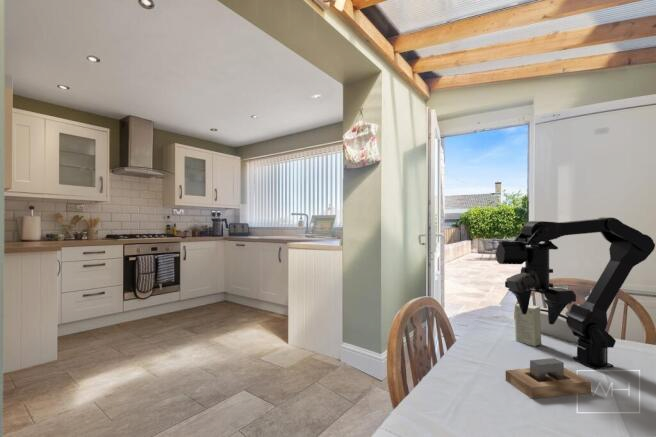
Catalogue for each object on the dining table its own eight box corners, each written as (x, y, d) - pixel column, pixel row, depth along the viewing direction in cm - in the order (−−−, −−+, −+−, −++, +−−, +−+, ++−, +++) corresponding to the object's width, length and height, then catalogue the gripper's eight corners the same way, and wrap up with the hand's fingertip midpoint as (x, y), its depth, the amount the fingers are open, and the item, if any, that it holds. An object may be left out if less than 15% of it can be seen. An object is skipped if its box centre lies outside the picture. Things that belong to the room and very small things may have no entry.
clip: (554, 382, 76) (554, 358, 76) (563, 387, 74) (563, 362, 74) (530, 384, 75) (529, 360, 75) (538, 390, 72) (538, 365, 72)
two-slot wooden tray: (559, 374, 80) (559, 365, 80) (591, 391, 72) (591, 381, 72) (505, 380, 77) (505, 370, 77) (531, 398, 69) (531, 387, 69)
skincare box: (541, 344, 99) (541, 306, 99) (534, 347, 97) (534, 308, 97) (521, 337, 105) (521, 302, 105) (514, 340, 102) (514, 304, 102)
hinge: (586, 340, 102) (581, 314, 100) (579, 348, 100) (573, 321, 98) (534, 325, 117) (529, 301, 115) (527, 331, 115) (521, 307, 113)
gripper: (489, 260, 96) (489, 310, 95) (540, 270, 77) (540, 332, 77) (520, 260, 97) (520, 308, 97) (577, 269, 79) (577, 329, 79)
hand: (537, 318), depth 88 cm, fingers open, 9 cm apart
